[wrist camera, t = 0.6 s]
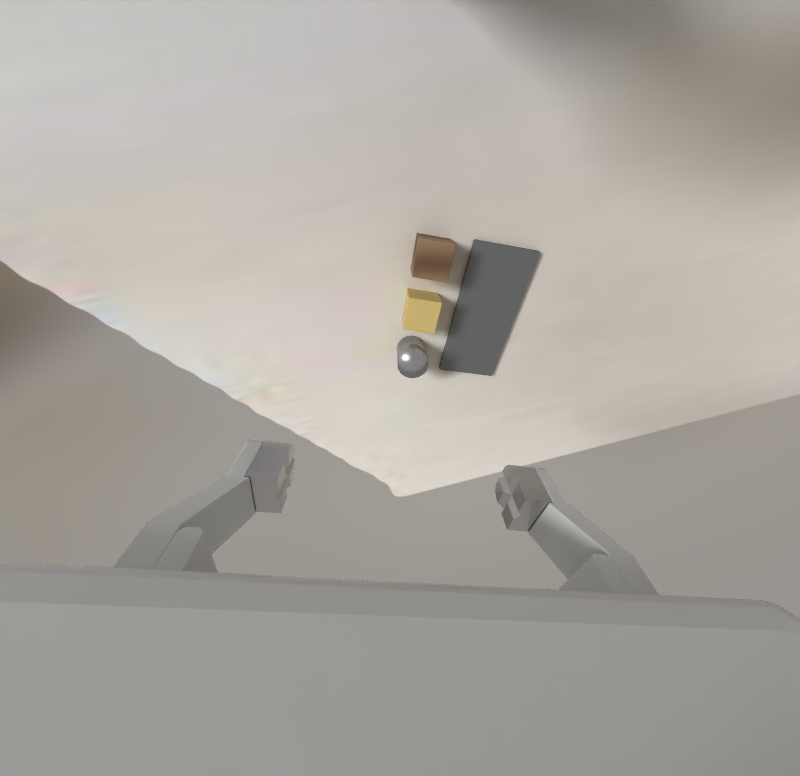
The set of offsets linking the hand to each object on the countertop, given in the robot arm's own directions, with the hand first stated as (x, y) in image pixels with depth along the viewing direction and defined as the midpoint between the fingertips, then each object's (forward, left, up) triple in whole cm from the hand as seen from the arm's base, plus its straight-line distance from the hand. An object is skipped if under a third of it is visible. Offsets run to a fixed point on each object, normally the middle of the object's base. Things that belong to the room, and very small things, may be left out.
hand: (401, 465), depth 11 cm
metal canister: (+15, +5, -40) cm, 43 cm away
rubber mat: (+7, +16, -40) cm, 44 cm away
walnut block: (-1, +5, -40) cm, 41 cm away
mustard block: (+7, +5, -40) cm, 41 cm away
